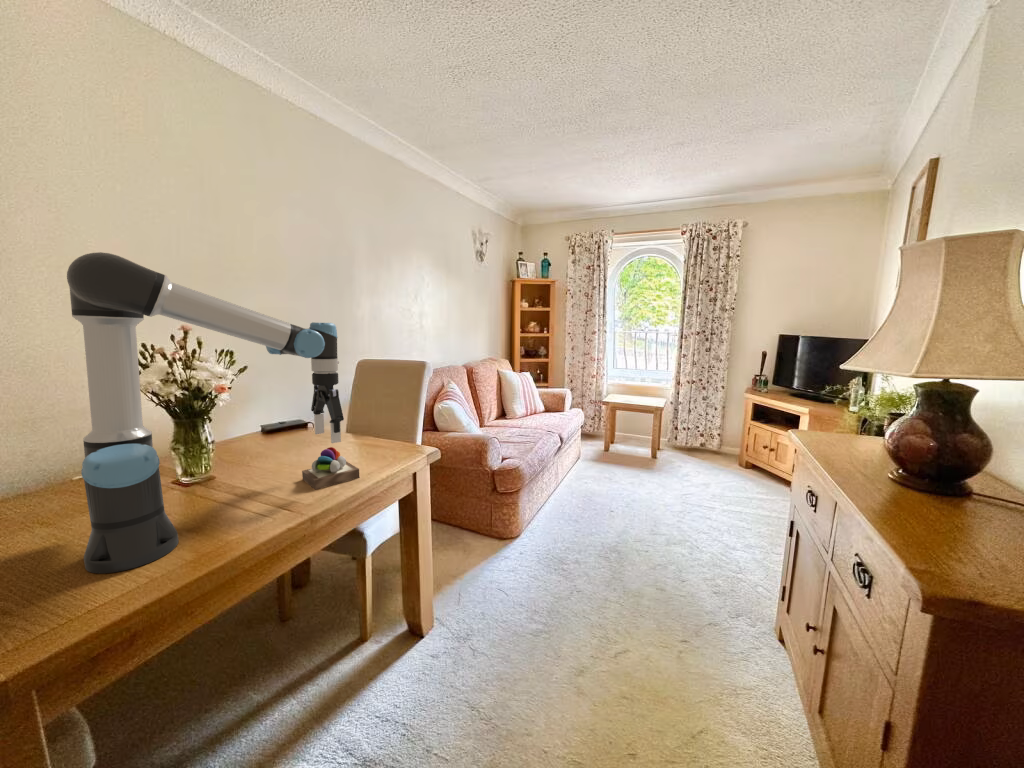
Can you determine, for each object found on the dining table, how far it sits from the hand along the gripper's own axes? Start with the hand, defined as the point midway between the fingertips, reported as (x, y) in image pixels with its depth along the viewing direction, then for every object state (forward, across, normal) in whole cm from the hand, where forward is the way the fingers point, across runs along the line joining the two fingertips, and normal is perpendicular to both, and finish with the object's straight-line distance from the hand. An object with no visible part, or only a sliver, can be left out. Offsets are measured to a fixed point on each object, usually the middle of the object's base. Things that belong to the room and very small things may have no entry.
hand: (327, 437), depth 130 cm
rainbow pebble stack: (+11, 0, 0) cm, 11 cm away
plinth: (+14, 0, -1) cm, 14 cm away
